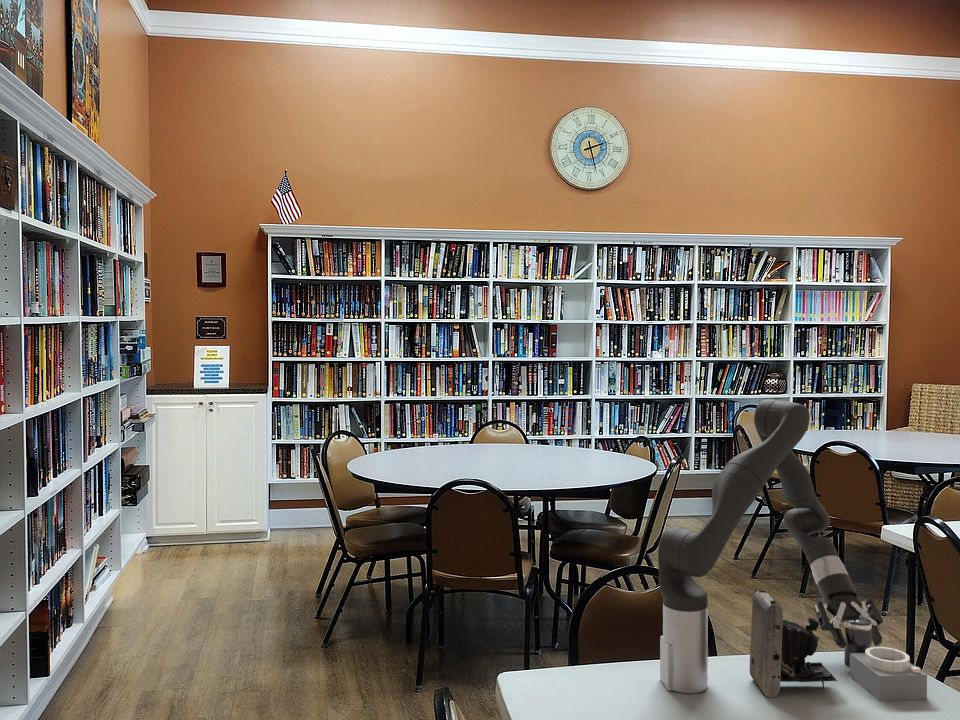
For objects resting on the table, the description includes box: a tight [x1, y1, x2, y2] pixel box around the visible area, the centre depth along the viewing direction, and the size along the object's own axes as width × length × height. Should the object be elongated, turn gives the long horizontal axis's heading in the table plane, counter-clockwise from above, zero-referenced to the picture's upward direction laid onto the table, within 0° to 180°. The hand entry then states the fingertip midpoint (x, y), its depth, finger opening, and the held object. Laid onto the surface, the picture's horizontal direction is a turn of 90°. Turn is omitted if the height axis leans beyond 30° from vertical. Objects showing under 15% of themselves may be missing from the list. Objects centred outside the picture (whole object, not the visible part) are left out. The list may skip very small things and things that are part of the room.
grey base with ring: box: [849, 646, 928, 701], centre depth 173 cm, size 10×12×7 cm
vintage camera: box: [749, 589, 838, 698], centre depth 172 cm, size 10×16×20 cm, turn 89°
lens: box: [843, 616, 872, 668], centre depth 185 cm, size 6×6×10 cm
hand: (861, 645), depth 183 cm, fingers open, 8 cm apart
